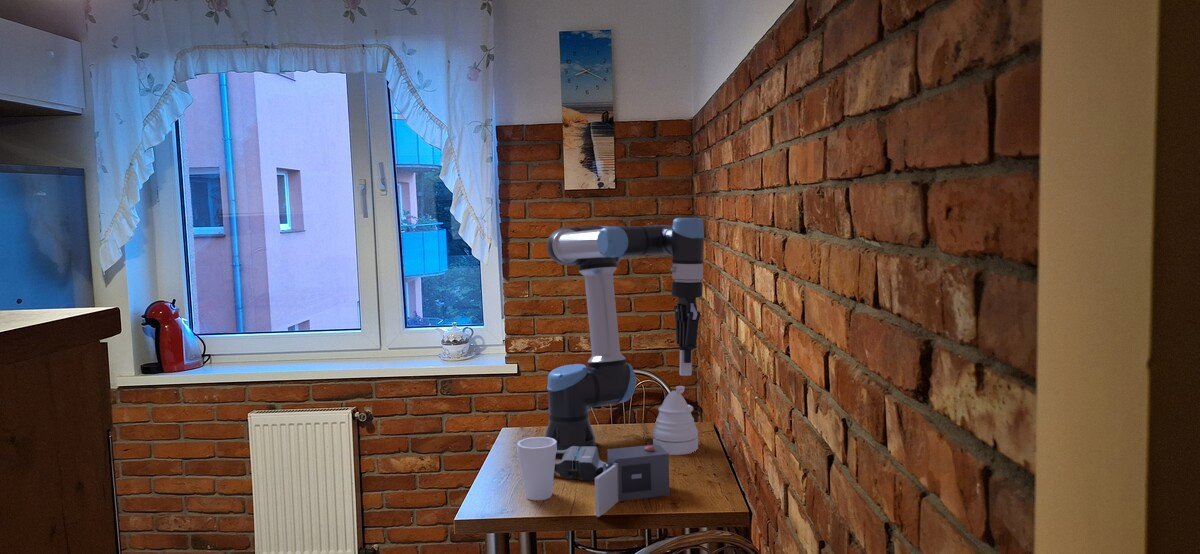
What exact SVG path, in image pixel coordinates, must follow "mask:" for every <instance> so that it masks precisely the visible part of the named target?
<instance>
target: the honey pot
mask: <svg viewBox="0 0 1200 554" xmlns="http://www.w3.org/2000/svg"><path fill="white" fill-rule="evenodd" d="M684 392H685V386H683V385H677V386H675V390H671V391H669V393H667V394H666V396H665V398H664V400H663V401H662V404H661V405H660V406H658V408H657V410H658V415H657V417H656V418H655V420H656V421H655V424H654V427H653V430H652V434H653V435H652V445H657V444H659V445H660V446H661V447H662V448H663V449H664V450H665V451H666V452H667V453H668V454H669V455H671V456H672V455H673V456H679V455H680V456H681V455H688V454H692V452H693V453H695V452H696V450H697V449H698V450H699V437H698V436H699V430H698V428H697V427H696V423H695V418H694V417H693V415H692V412H693V411H694V407H693V405H690V404H688V403H687V401H686V400H685V397H684V396H683V395H682V394H683V393H684ZM698 450H697V451H698ZM694 451H695V452H694Z"/></svg>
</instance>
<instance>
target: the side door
mask: <svg viewBox="0 0 1200 554" xmlns="http://www.w3.org/2000/svg"><path fill="white" fill-rule="evenodd" d="M594 501H595V502H594V503H595V506H594V507H595V517H598V518H599V517H601V516H602V515H603V514H605V513H606V512H607V511H608V510H609V509H611V508H612V507H613V506H614V505H616V504H617V503H620V501H619V477H618V463H614V465H613V466H611V467H610V468H608V469H607V470H606V471H604V472H603V473H601V474H600V475H598V476H597V477H596V478H595V479H594Z"/></svg>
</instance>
